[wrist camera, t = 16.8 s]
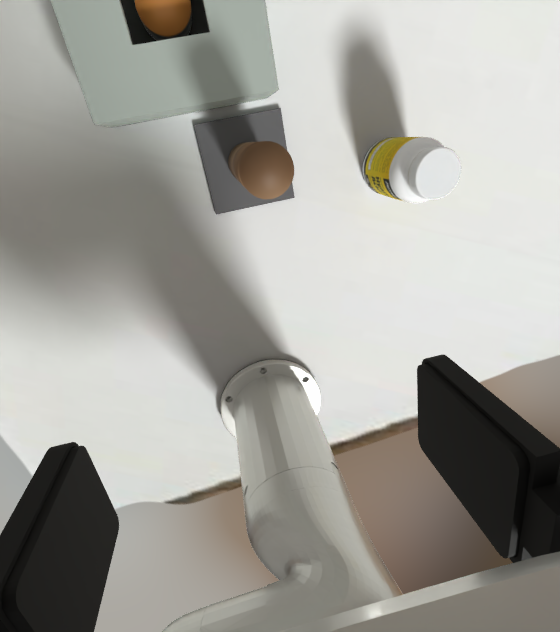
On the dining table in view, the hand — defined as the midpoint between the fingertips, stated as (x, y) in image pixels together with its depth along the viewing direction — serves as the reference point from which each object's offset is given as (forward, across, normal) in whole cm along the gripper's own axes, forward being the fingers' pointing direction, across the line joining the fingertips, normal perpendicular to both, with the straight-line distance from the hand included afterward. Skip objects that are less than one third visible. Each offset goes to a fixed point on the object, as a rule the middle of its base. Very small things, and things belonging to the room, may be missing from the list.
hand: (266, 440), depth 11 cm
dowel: (+30, -4, -7) cm, 31 cm away
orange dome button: (+30, +1, -18) cm, 35 cm away
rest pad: (+31, -4, -7) cm, 32 cm away
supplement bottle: (+31, -18, -4) cm, 36 cm away
